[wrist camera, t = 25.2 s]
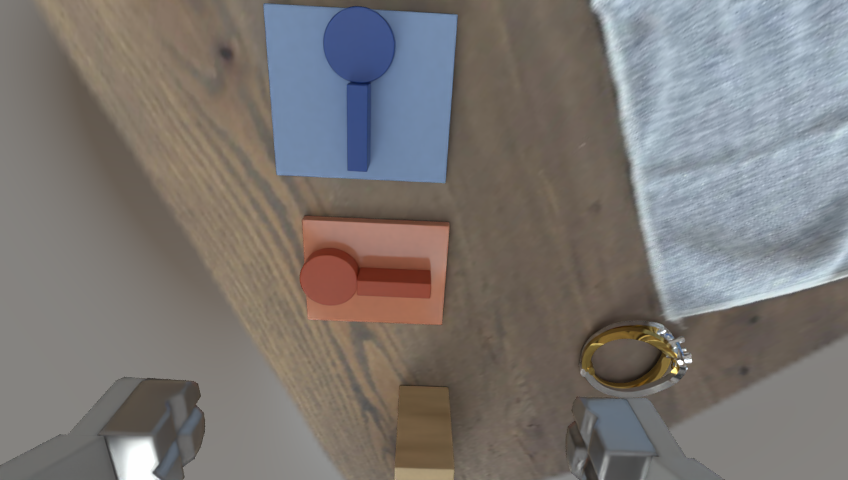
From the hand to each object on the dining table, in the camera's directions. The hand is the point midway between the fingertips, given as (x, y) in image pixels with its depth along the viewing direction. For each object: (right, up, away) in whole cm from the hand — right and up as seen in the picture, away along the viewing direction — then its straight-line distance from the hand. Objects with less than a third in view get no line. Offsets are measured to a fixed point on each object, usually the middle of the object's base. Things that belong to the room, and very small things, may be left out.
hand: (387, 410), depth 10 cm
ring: (+13, -7, +27) cm, 31 cm away
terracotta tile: (-3, +2, +24) cm, 24 cm away
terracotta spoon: (-3, +1, +23) cm, 23 cm away
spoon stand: (+1, -12, +30) cm, 33 cm away
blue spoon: (-3, +12, +18) cm, 22 cm away
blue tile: (-3, +13, +19) cm, 23 cm away
